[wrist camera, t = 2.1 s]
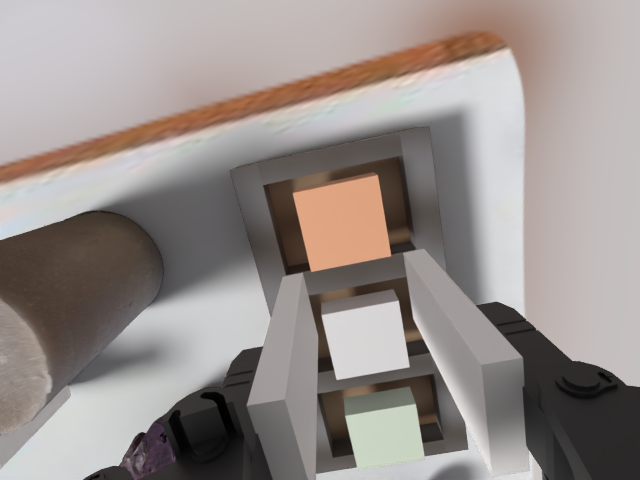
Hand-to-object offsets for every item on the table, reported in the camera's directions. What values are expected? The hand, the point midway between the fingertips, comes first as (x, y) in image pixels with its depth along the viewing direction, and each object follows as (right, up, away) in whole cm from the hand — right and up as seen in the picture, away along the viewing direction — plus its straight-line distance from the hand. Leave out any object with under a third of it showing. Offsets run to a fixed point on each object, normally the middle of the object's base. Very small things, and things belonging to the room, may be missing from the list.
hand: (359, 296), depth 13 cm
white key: (+2, -5, +15) cm, 16 cm away
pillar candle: (-20, 0, +18) cm, 26 cm away
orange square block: (0, +4, +12) cm, 13 cm away
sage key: (+4, -13, +17) cm, 22 cm away
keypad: (+2, -4, +18) cm, 19 cm away
